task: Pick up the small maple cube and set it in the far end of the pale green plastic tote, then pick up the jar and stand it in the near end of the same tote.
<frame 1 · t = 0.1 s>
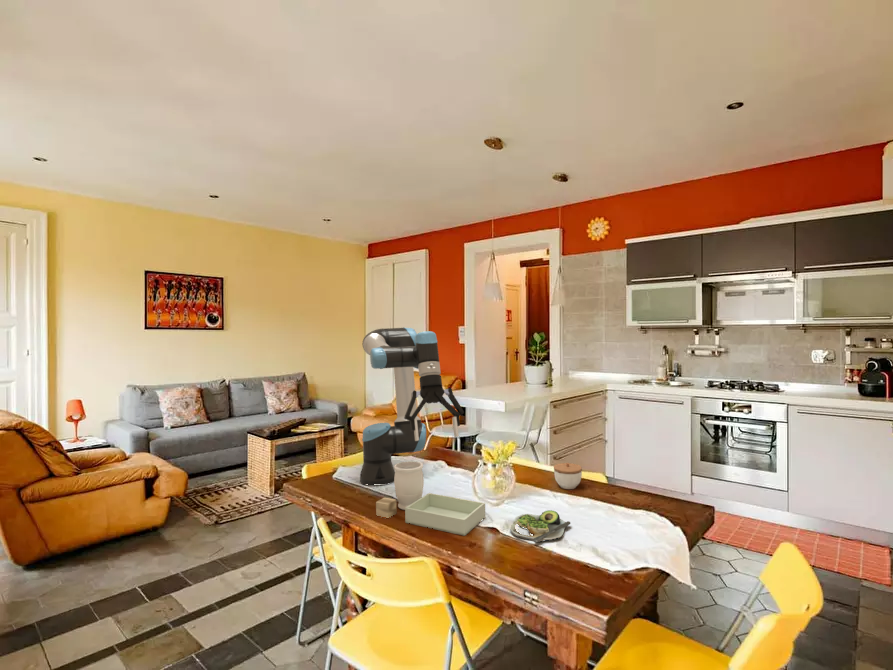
hand: (437, 438, 163), 28 cm above the table, tool tilted 20°, fingers open, 13 cm apart
avocado toast plate: (539, 530, 156), on the table
lidded jar: (568, 486, 193), on the table
tote: (445, 520, 164), on the table
cube: (386, 515, 170), on the table
jar: (409, 506, 177), on the table
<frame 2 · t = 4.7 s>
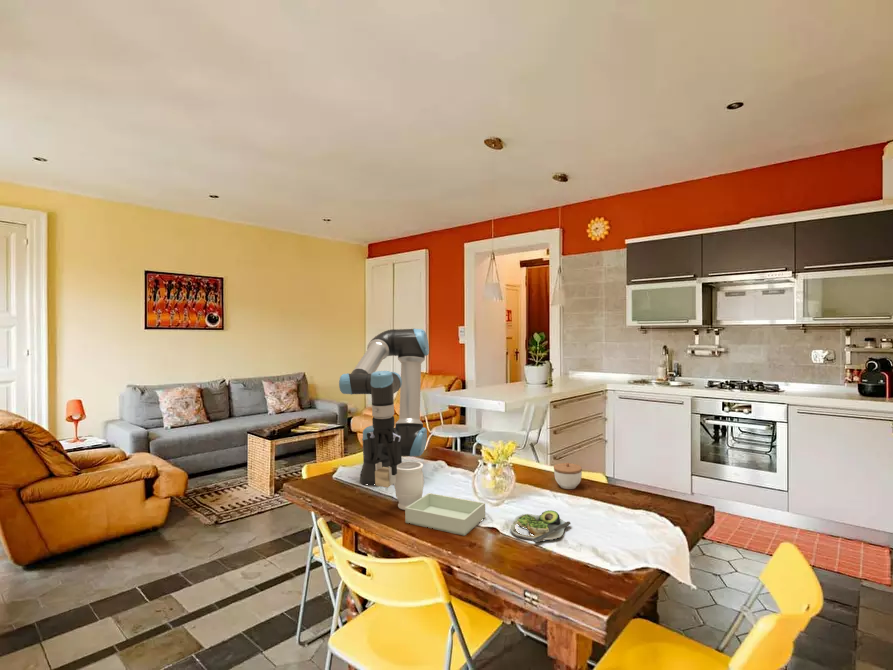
hand: (385, 482, 170), 11 cm above the table, tool pointing down, fingers closed on cube, 5 cm apart
cube: (385, 484, 170), point 11 cm above the table, touching gripper
everything else where it was.
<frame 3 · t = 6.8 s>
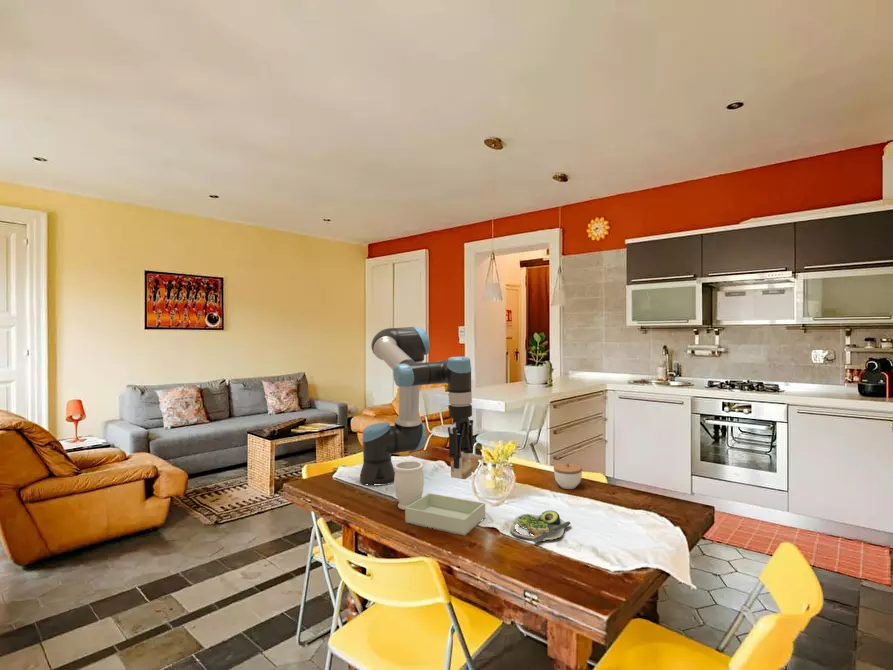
hand: (462, 475, 160), 16 cm above the table, tool pointing down, fingers closed on cube, 5 cm apart
cube: (461, 476, 160), point 16 cm above the table, touching gripper
everything else where it was.
when the fingers open (2 cm above the table, at t = 9.3 s): cube drops 1 cm, resting on tote.
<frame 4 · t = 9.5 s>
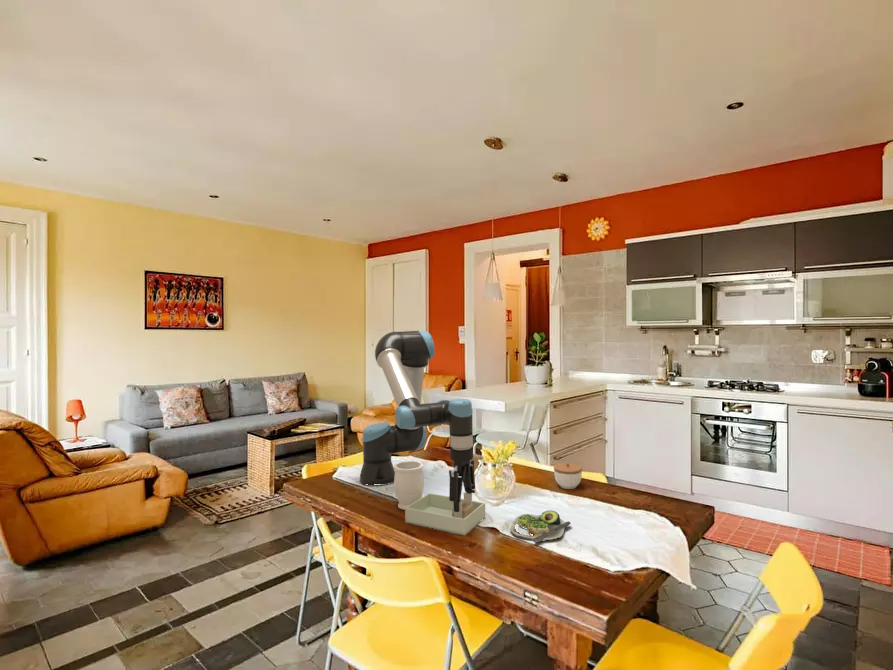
hand: (463, 516, 161), 2 cm above the table, tool pointing down, fingers open, 6 cm apart
cube: (462, 521, 161), point 1 cm above the table, touching tote
everything else where it was.
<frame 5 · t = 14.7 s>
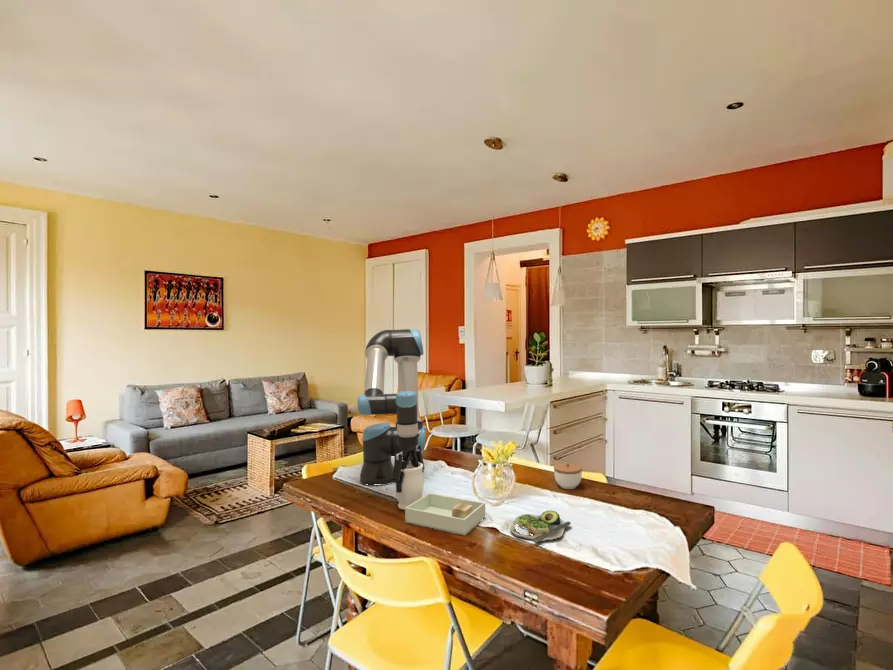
hand: (409, 495, 177), 4 cm above the table, tool pointing down, fingers closed on jar, 10 cm apart
jar: (409, 506, 177), on the table, touching gripper
everything else where it was.
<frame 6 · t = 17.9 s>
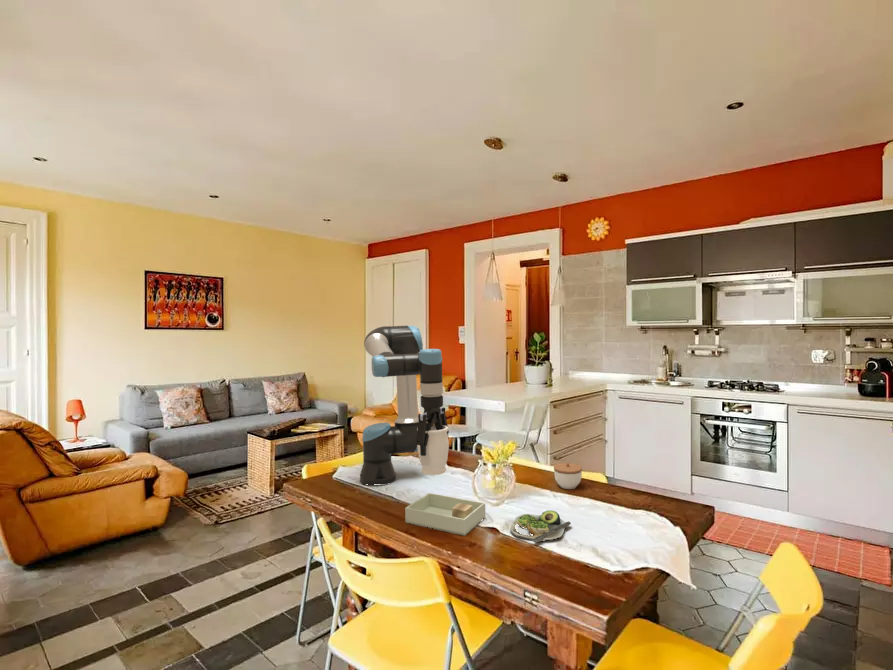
hand: (433, 460, 166), 20 cm above the table, tool pointing down, fingers closed on jar, 10 cm apart
jar: (433, 472, 166), point 16 cm above the table, touching gripper
everything else where it was.
when the fingers open (6 cm above the table, at t = 20.9 s): jar drops 2 cm, resting on tote.
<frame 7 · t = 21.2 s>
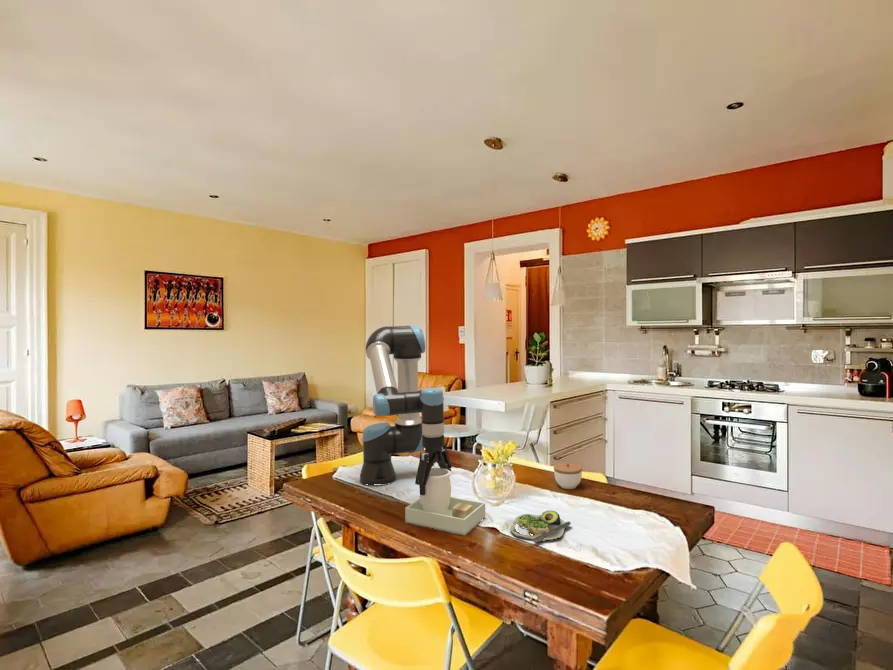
hand: (434, 497, 166), 7 cm above the table, tool pointing down, fingers open, 13 cm apart
jar: (435, 516, 167), resting on tote
everything else where it was.
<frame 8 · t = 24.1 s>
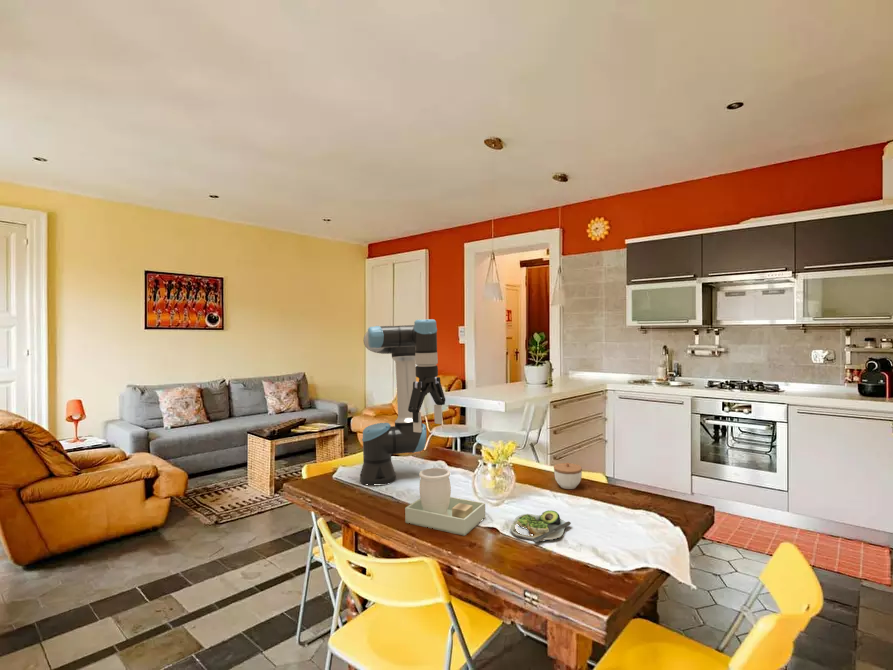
hand: (428, 427, 166), 31 cm above the table, tool pointing down, fingers open, 13 cm apart
nothing on the table moved.
at the end: jar inside the target area on the tote (4.0 cm from its centre), point 0.4 cm above the tote's base; cube inside the target area on the tote (6.4 cm from its centre), point 0.6 cm above the tote's base; jar tilted 0° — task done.
